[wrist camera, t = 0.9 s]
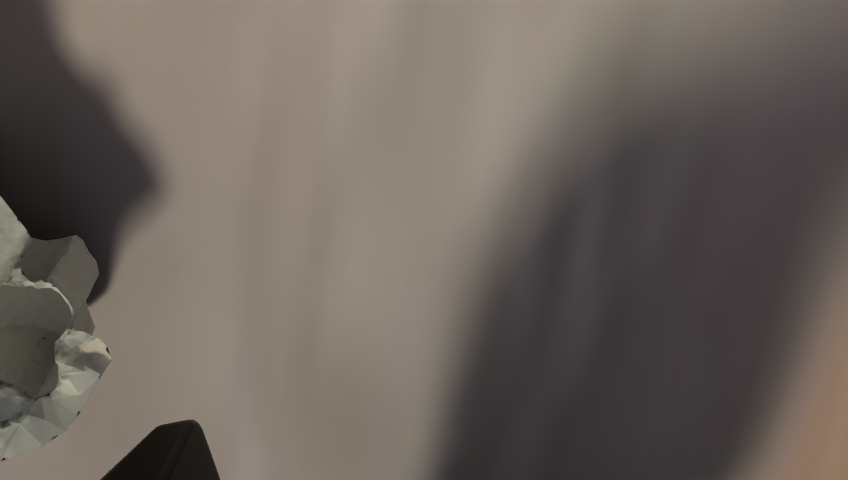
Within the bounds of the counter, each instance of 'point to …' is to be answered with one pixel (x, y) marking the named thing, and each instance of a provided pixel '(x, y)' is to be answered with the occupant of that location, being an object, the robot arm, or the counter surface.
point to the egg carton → (44, 335)
